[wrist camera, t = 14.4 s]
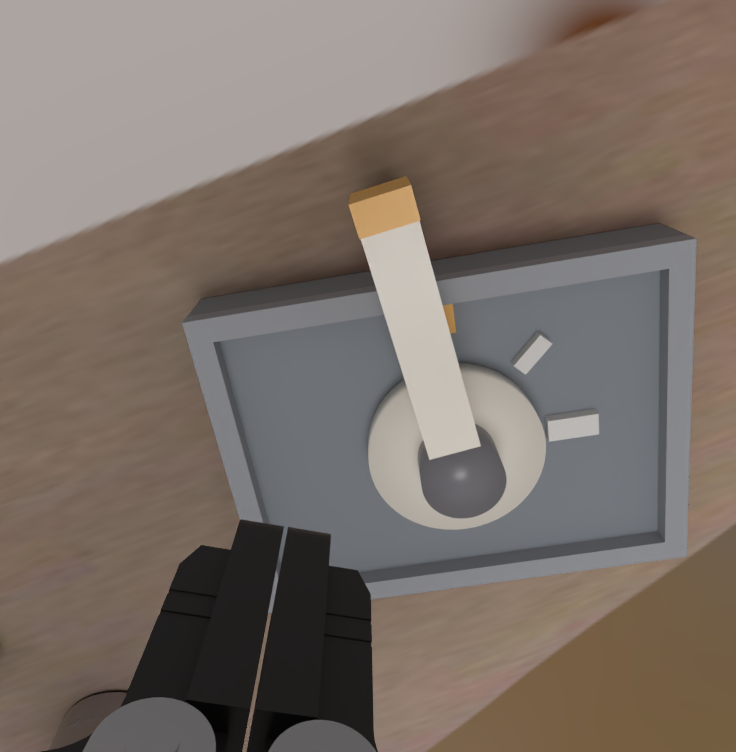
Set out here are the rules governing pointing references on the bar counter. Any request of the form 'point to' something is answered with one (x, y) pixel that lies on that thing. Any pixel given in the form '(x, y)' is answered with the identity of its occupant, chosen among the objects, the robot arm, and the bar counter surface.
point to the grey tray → (488, 349)
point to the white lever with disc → (438, 390)
